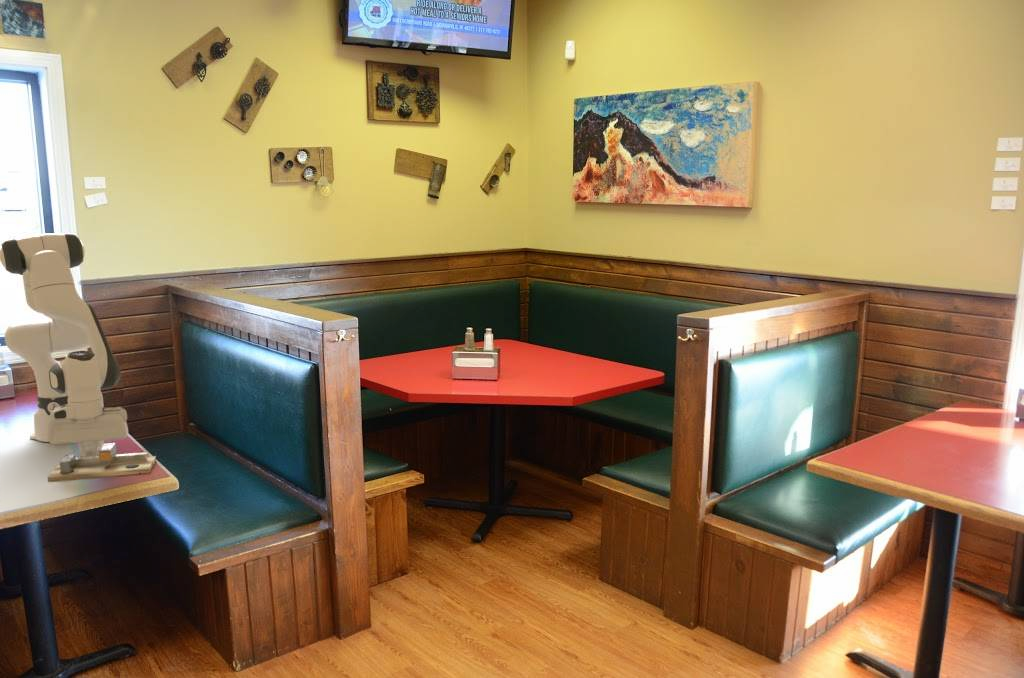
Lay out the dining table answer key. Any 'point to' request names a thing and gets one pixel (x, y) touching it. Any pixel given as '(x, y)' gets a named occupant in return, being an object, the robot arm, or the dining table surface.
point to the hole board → (104, 470)
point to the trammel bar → (97, 460)
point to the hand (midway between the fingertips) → (91, 456)
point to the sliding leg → (107, 453)
